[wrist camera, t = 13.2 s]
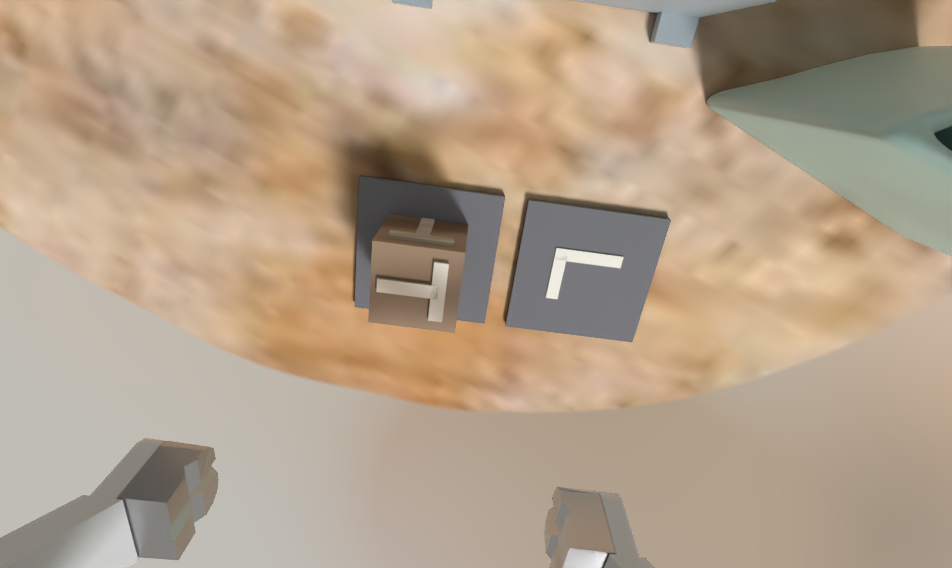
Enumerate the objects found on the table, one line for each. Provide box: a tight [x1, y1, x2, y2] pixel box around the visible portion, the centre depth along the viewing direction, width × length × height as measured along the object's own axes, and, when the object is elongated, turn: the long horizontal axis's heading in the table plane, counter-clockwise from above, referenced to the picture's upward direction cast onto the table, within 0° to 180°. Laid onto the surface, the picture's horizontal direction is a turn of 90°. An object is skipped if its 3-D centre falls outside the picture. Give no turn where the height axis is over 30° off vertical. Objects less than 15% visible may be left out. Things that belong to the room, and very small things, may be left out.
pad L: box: [506, 199, 671, 342], centre depth 32 cm, size 9×9×1 cm
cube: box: [368, 214, 468, 333], centre depth 29 cm, size 5×5×5 cm
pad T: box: [355, 176, 505, 323], centre depth 31 cm, size 9×9×1 cm
